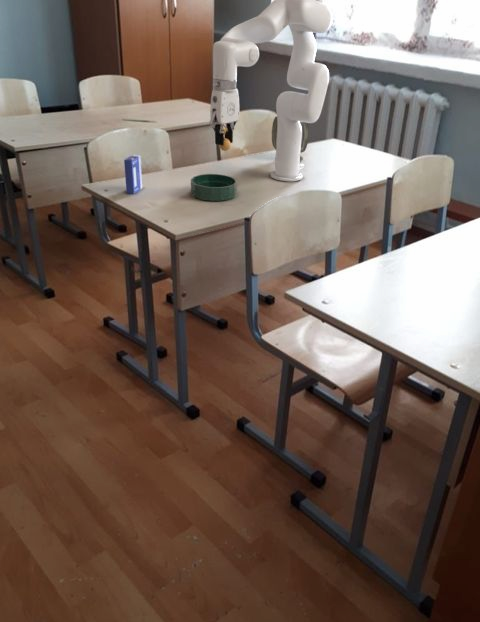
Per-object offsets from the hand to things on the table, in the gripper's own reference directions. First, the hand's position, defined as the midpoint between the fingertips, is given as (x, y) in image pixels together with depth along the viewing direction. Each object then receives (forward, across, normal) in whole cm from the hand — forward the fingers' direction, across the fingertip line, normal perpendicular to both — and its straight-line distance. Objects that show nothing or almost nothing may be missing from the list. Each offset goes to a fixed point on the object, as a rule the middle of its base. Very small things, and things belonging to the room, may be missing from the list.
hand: (224, 142), depth 200 cm
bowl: (+19, +1, +5) cm, 20 cm away
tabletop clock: (+20, +61, +15) cm, 65 cm away
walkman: (+19, -17, +27) cm, 37 cm away
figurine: (+3, -1, 0) cm, 3 cm away
